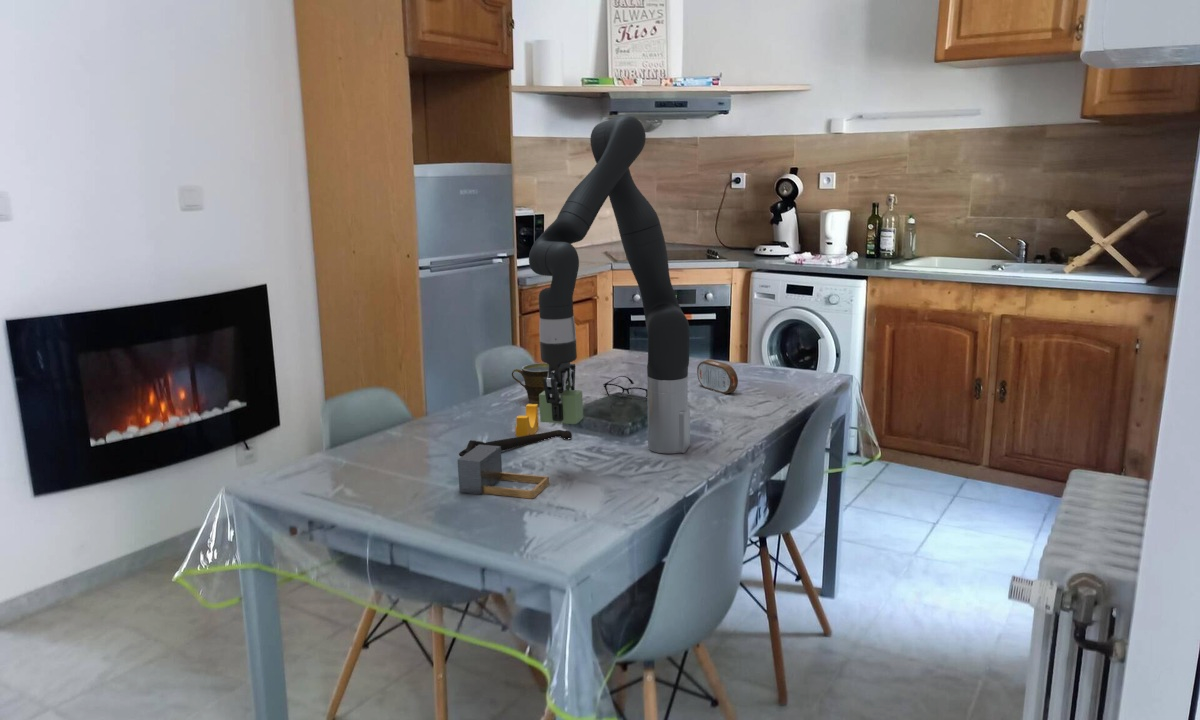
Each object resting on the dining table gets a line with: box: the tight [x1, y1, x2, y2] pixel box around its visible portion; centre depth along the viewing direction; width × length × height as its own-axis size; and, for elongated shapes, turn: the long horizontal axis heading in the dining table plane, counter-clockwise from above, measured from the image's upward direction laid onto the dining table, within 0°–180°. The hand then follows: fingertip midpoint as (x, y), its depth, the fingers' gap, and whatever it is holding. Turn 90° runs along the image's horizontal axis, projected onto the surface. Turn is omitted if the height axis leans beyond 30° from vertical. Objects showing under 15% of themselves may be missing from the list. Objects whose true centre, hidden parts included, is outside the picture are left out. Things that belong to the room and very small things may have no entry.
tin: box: [696, 358, 739, 395], centre depth 252 cm, size 15×3×8 cm, turn 34°
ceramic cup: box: [511, 362, 549, 406], centre depth 244 cm, size 13×10×10 cm
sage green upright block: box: [539, 389, 584, 425], centre depth 186 cm, size 8×4×6 cm, turn 73°
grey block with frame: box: [457, 444, 550, 500], centre depth 182 cm, size 16×10×7 cm, turn 72°
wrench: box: [458, 429, 573, 457], centre depth 205 cm, size 5×5×30 cm
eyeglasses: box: [602, 375, 647, 398], centre depth 253 cm, size 16×16×4 cm
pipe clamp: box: [515, 403, 540, 437], centre depth 216 cm, size 12×4×6 cm, turn 172°
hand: (562, 416), depth 187 cm, fingers closed on sage green upright block, 4 cm apart
